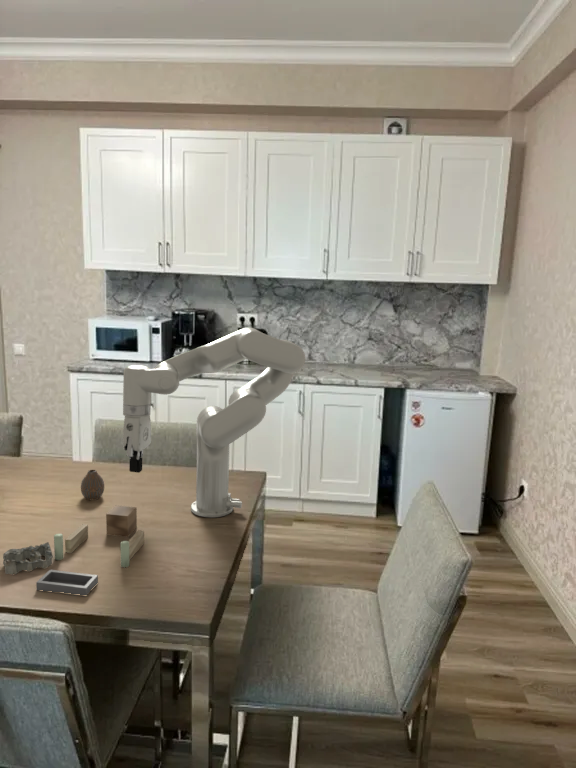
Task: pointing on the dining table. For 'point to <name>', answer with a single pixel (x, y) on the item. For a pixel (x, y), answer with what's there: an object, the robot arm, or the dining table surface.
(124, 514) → the walnut block
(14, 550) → the grey jagged open ring
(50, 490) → the dining table surface
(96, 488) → the vase
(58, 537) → the goal posts
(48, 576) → the tray
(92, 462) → the dining table surface
